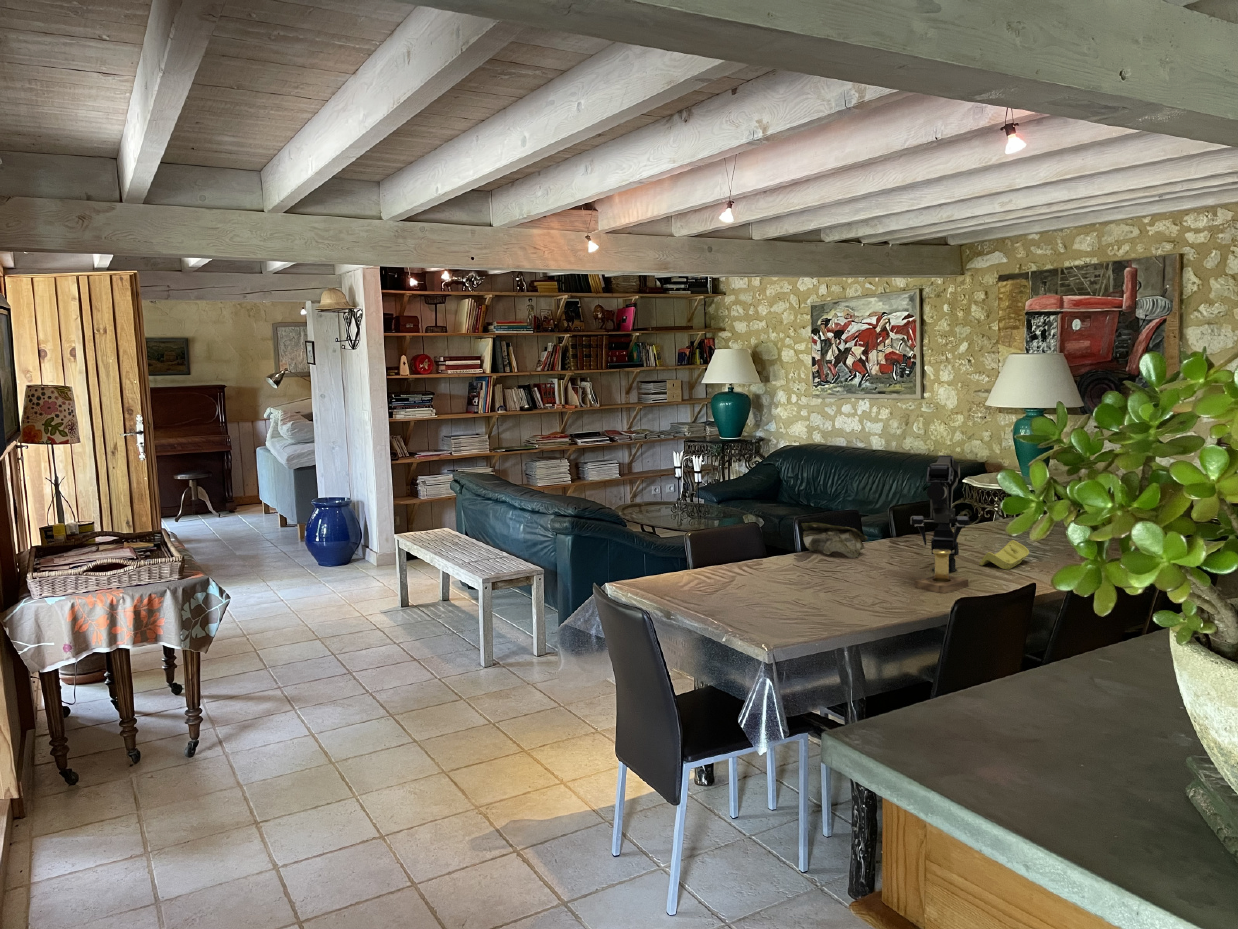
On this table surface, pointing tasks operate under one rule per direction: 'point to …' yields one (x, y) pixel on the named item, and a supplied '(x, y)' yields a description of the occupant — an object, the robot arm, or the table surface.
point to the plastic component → (1007, 556)
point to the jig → (941, 584)
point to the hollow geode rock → (833, 539)
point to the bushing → (942, 565)
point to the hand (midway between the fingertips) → (939, 545)
